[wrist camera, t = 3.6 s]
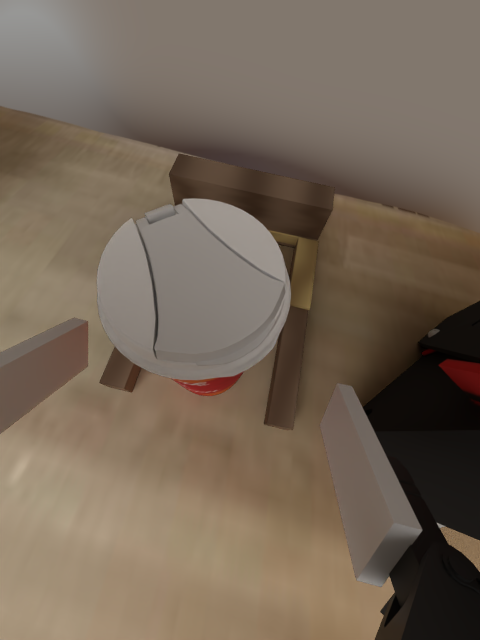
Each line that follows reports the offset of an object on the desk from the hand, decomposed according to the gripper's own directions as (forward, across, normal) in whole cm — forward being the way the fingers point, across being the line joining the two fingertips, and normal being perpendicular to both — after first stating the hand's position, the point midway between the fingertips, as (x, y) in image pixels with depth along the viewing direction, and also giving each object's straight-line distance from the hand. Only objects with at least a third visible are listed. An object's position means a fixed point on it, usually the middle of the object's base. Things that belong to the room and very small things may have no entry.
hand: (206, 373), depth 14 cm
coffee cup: (+9, -1, -5) cm, 11 cm away
